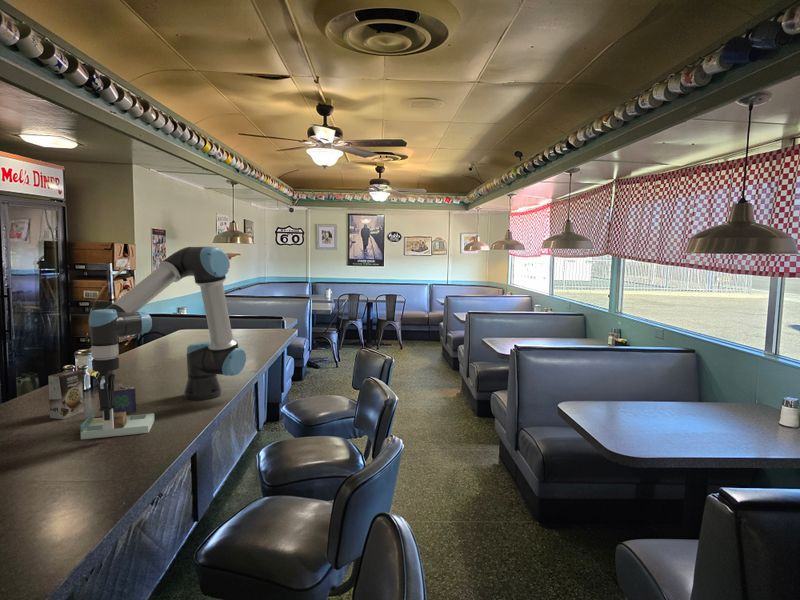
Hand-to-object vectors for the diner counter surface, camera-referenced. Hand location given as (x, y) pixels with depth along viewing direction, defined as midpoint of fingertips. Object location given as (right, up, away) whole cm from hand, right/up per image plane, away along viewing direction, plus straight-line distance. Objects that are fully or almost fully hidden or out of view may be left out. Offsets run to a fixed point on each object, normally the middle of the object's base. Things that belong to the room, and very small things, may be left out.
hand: (108, 428), depth 161 cm
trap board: (-3, -3, +11) cm, 12 cm away
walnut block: (-1, -1, +7) cm, 7 cm away
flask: (-11, -2, +28) cm, 30 cm away
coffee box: (-31, -2, +26) cm, 40 cm away
